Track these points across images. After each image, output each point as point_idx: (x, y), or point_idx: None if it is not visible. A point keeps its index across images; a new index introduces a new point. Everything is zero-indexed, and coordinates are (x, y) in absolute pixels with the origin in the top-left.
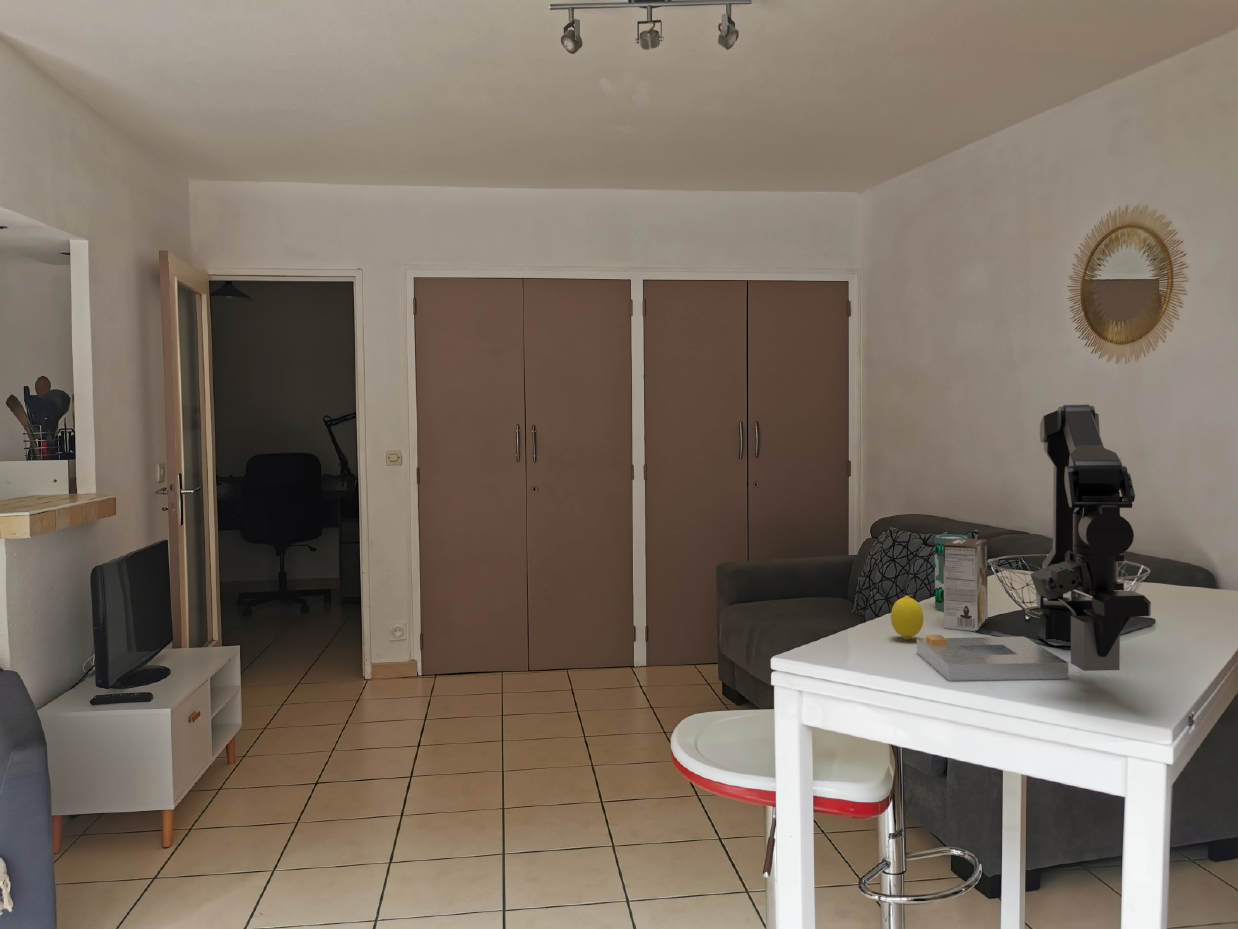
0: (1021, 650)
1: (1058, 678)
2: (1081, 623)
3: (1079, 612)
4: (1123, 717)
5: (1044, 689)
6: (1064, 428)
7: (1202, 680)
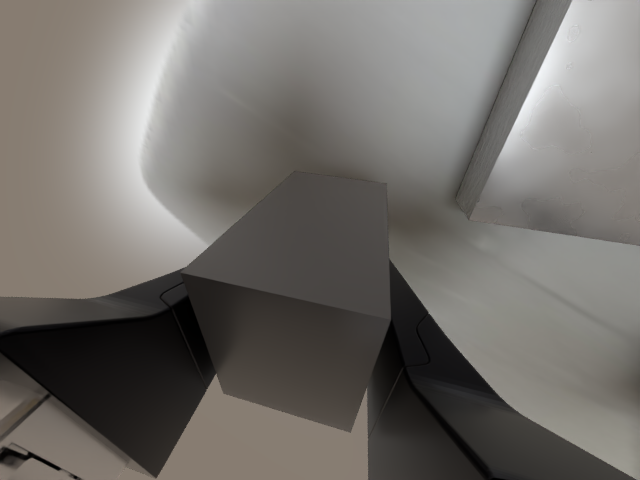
0: None
1: (466, 173)
2: (224, 269)
3: (402, 395)
4: (177, 149)
5: (390, 66)
6: None
7: None
